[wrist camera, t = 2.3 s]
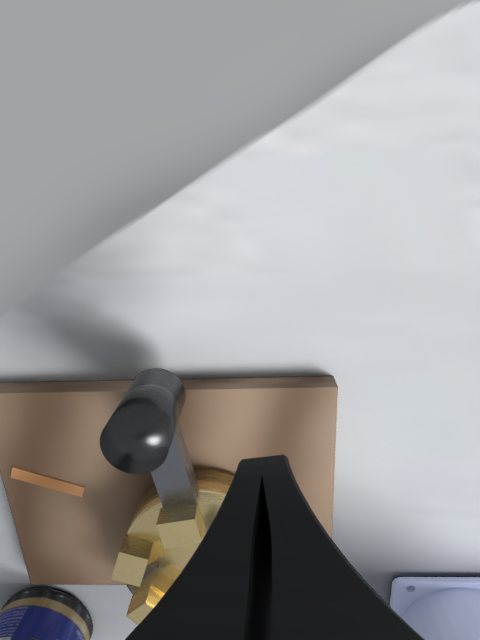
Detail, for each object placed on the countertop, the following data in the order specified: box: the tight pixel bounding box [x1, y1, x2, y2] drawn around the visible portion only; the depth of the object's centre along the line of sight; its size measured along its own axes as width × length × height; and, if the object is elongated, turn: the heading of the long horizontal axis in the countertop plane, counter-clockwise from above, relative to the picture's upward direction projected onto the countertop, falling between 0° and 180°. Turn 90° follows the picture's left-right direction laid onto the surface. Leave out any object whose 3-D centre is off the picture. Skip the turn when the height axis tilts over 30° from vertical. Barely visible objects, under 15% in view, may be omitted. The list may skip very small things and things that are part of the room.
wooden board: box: [0, 376, 338, 585], centre depth 22 cm, size 18×13×1 cm
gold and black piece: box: [100, 368, 234, 625], centre depth 19 cm, size 14×8×5 cm, turn 12°
